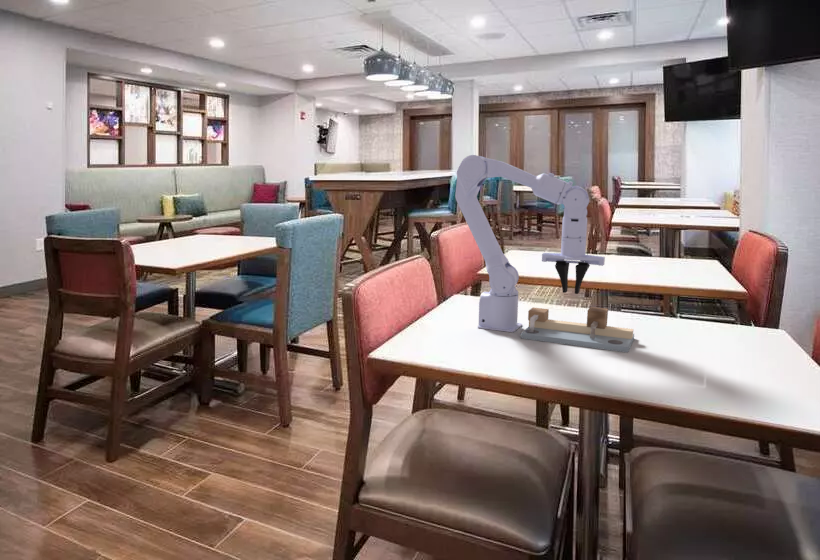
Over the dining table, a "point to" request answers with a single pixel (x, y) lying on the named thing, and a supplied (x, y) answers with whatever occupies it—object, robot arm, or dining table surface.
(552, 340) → the gauge board
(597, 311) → the slider
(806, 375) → the dining table surface
